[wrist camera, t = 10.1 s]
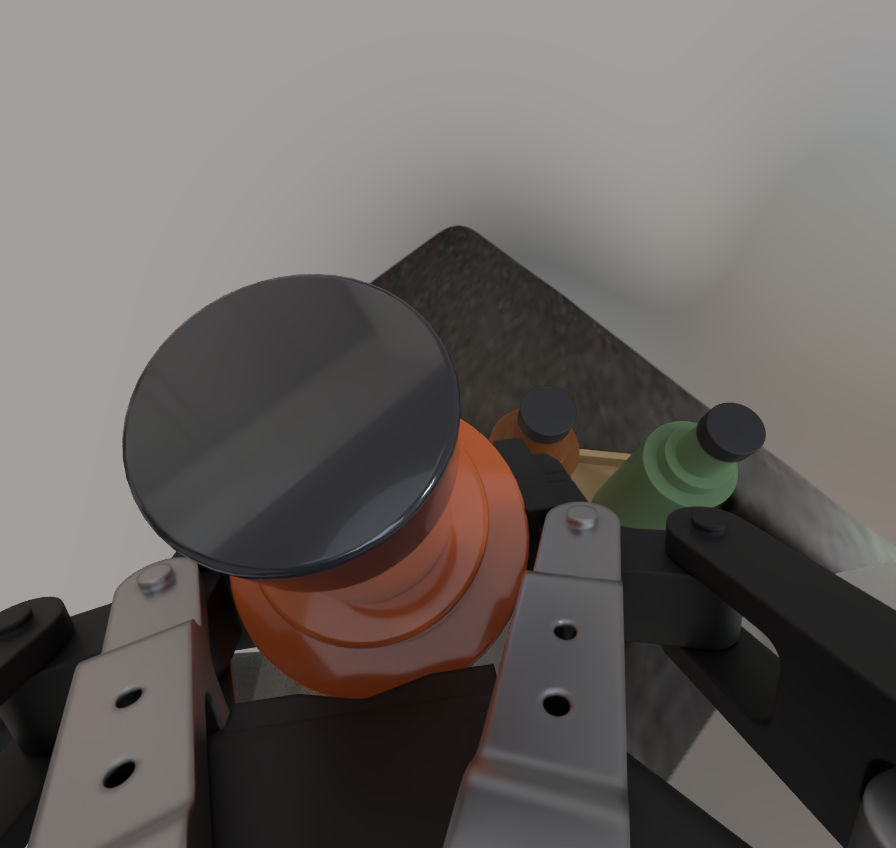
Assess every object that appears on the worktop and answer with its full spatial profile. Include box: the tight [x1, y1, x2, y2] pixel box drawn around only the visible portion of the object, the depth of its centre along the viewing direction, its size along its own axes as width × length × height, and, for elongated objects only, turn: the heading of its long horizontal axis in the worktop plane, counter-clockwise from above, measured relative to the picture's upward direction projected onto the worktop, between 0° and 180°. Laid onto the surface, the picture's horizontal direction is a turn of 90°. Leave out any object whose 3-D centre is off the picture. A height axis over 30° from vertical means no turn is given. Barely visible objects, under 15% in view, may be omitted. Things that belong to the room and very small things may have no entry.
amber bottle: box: [489, 386, 580, 477], centre depth 32 cm, size 5×5×18 cm
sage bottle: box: [591, 403, 766, 530], centre depth 31 cm, size 5×5×18 cm
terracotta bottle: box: [123, 274, 530, 699], centre depth 12 cm, size 5×5×18 cm
